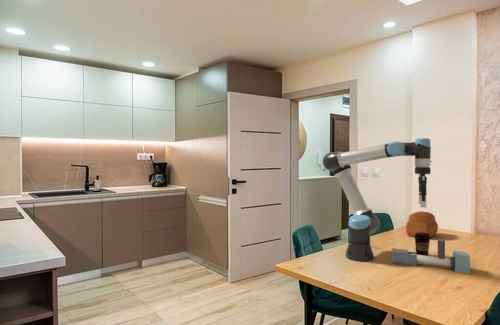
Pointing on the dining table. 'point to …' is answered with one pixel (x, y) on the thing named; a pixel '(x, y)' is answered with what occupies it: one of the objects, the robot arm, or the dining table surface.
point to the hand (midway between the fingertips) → (422, 205)
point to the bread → (421, 224)
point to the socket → (461, 262)
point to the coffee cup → (422, 243)
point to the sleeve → (404, 257)
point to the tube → (439, 259)
